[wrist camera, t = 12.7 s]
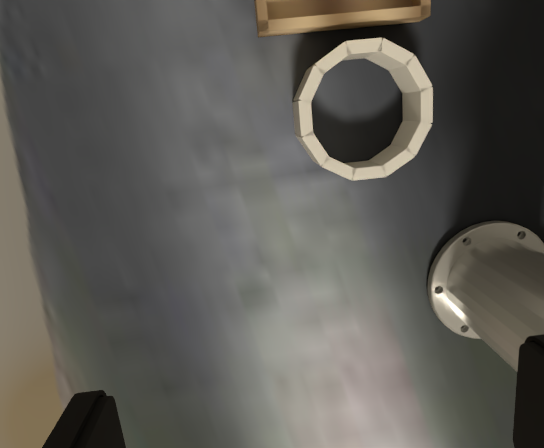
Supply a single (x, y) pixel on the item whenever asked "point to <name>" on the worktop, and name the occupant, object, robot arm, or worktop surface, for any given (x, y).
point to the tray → (334, 14)
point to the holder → (413, 100)
